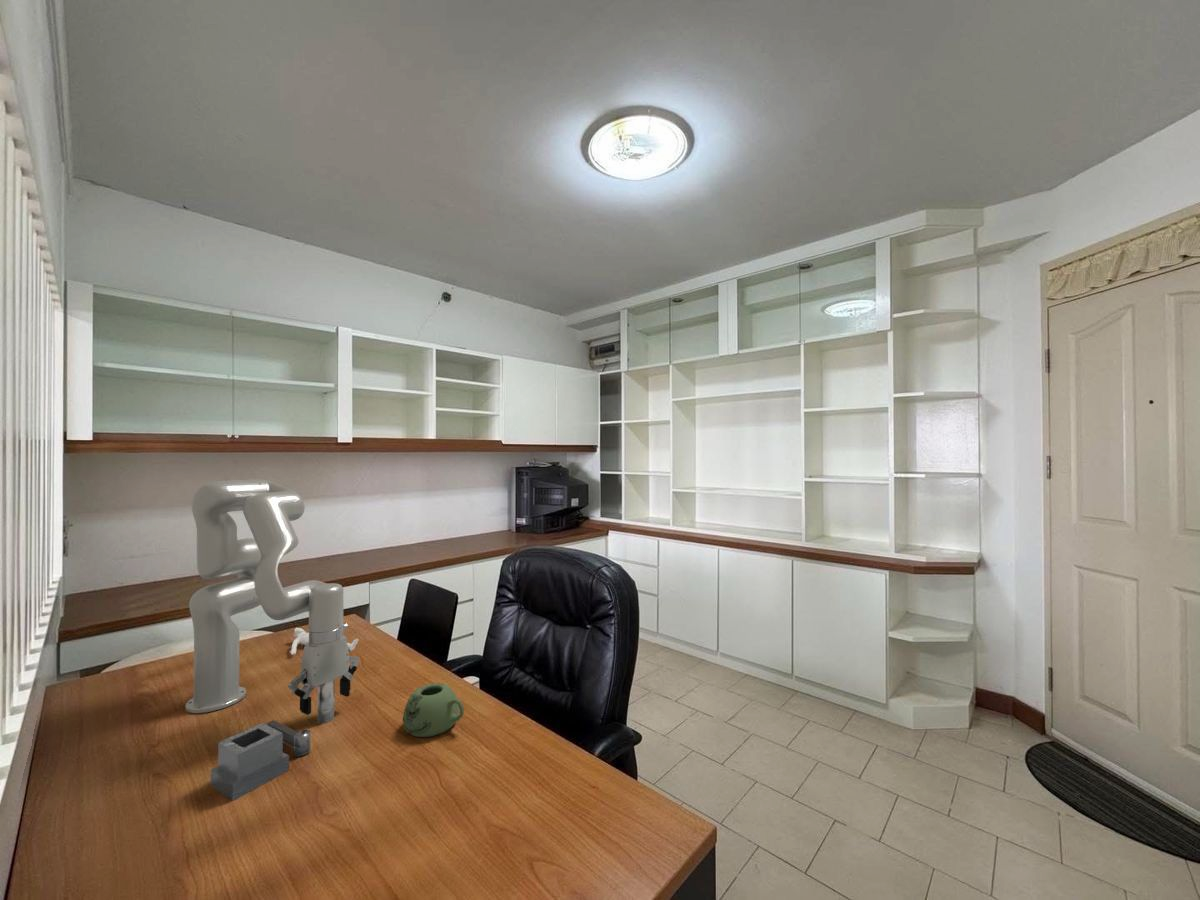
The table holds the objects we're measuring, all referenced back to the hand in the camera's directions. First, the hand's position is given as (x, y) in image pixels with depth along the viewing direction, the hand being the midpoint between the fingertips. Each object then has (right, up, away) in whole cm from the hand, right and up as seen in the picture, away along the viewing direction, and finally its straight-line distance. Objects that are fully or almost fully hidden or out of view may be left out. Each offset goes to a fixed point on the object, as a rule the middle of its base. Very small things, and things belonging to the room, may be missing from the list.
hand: (326, 703), depth 117 cm
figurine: (-29, -6, +45) cm, 54 cm away
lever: (-3, -3, -10) cm, 11 cm away
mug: (+29, -4, -4) cm, 29 cm away
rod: (0, -4, 0) cm, 4 cm away
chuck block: (-3, -3, -21) cm, 22 cm away
